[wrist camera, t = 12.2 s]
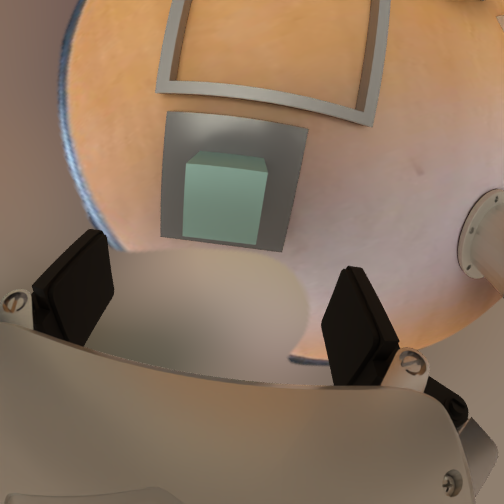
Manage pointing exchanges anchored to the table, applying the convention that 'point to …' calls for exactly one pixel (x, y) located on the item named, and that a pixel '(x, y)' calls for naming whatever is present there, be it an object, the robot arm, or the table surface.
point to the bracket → (501, 21)
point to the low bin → (360, 115)
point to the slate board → (239, 143)
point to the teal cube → (224, 197)
